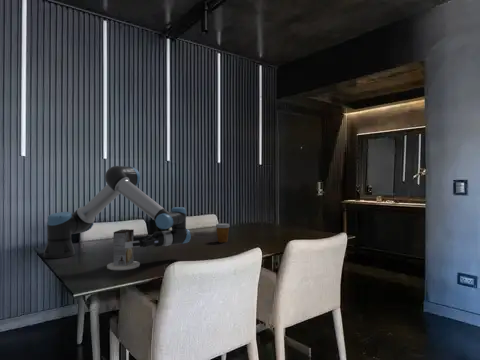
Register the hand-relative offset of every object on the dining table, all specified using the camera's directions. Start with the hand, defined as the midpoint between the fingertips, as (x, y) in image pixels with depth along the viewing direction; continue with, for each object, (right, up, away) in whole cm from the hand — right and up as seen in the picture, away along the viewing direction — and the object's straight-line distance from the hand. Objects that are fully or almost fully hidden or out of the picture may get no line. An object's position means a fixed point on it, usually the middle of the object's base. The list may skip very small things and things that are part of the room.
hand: (120, 243), depth 165 cm
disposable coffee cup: (+46, -12, +69) cm, 84 cm away
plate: (+1, -11, +1) cm, 12 cm away
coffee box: (+1, -10, +1) cm, 11 cm away
